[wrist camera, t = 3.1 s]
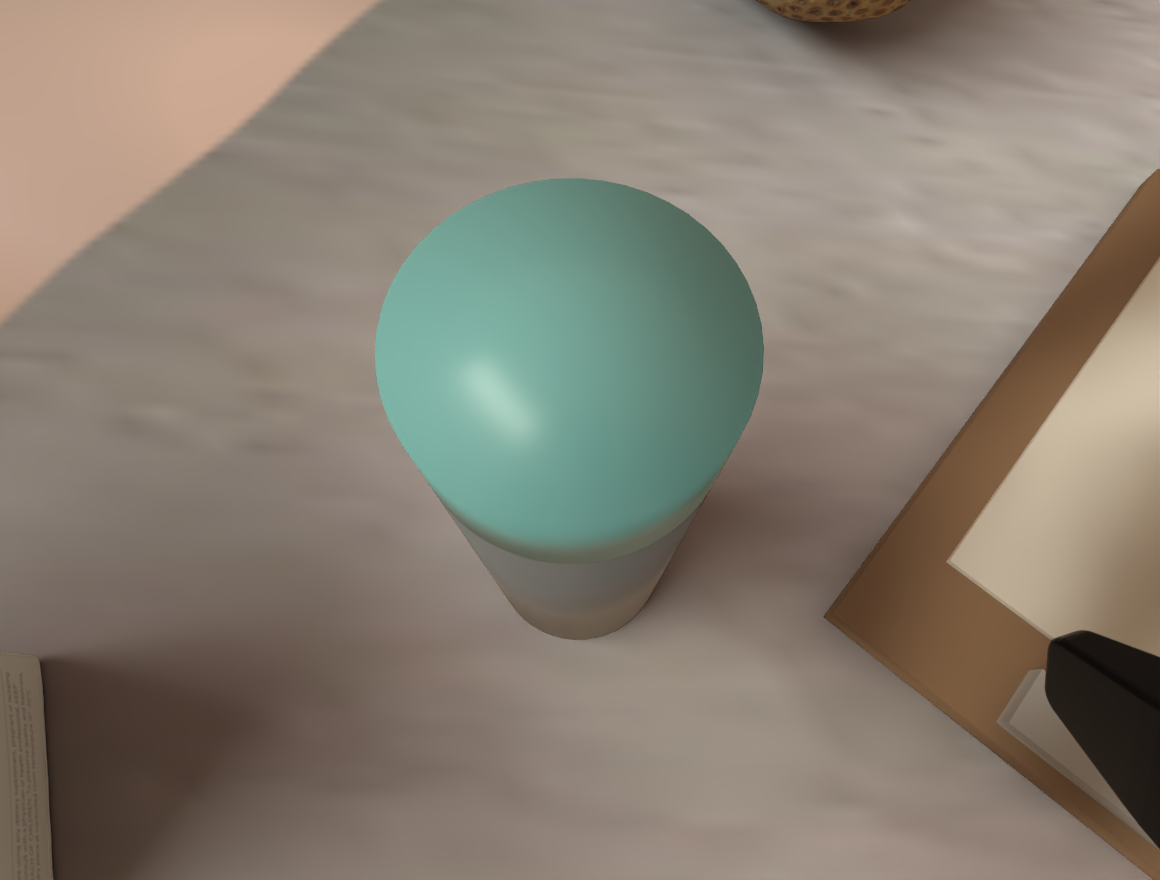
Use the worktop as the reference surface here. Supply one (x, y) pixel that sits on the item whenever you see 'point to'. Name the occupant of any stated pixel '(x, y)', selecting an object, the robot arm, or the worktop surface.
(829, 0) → the brown potato
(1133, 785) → the robot arm
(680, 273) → the green-topped grey cylinder
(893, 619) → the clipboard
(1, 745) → the supplement box
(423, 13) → the worktop surface
